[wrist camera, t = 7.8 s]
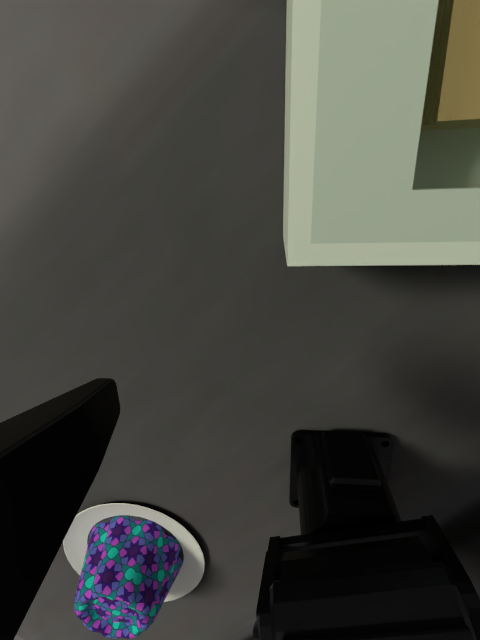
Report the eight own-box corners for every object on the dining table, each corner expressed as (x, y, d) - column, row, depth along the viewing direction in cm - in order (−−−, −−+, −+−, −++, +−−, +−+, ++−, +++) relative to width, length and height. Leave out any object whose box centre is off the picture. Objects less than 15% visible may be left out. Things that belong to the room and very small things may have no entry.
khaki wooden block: (479, 127, 16) (529, 115, 13) (405, 131, 17) (437, 121, 13) (501, 2, 15) (566, -48, 11) (418, 9, 15) (459, -37, 12)
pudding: (231, 536, 29) (223, 609, 24) (169, 610, 33) (152, 684, 29) (96, 471, 28) (58, 534, 23) (50, 557, 32) (10, 625, 27)
